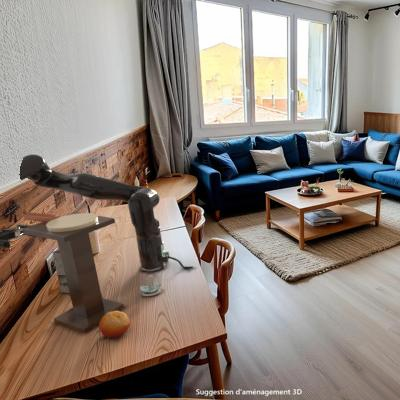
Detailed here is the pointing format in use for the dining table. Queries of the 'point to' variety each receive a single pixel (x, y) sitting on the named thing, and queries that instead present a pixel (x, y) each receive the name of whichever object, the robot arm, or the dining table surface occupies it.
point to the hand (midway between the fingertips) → (23, 238)
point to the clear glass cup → (150, 287)
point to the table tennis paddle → (64, 221)
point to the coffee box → (60, 271)
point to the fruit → (114, 324)
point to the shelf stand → (79, 275)
